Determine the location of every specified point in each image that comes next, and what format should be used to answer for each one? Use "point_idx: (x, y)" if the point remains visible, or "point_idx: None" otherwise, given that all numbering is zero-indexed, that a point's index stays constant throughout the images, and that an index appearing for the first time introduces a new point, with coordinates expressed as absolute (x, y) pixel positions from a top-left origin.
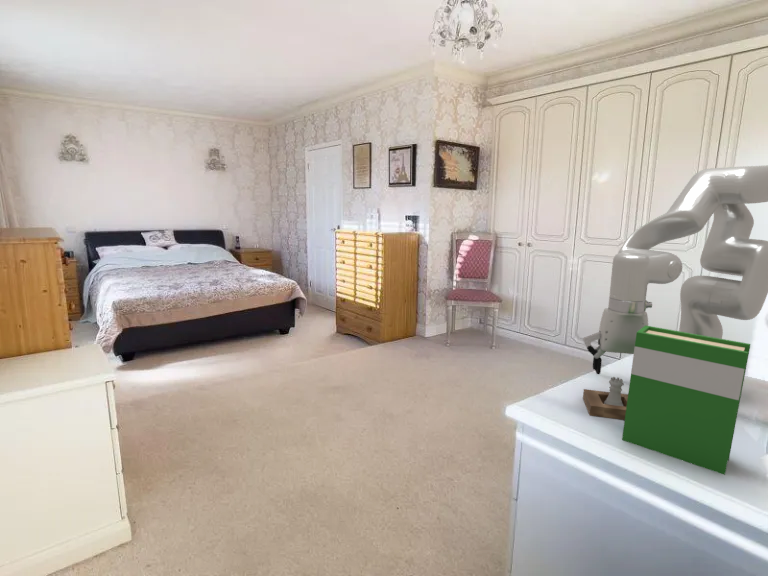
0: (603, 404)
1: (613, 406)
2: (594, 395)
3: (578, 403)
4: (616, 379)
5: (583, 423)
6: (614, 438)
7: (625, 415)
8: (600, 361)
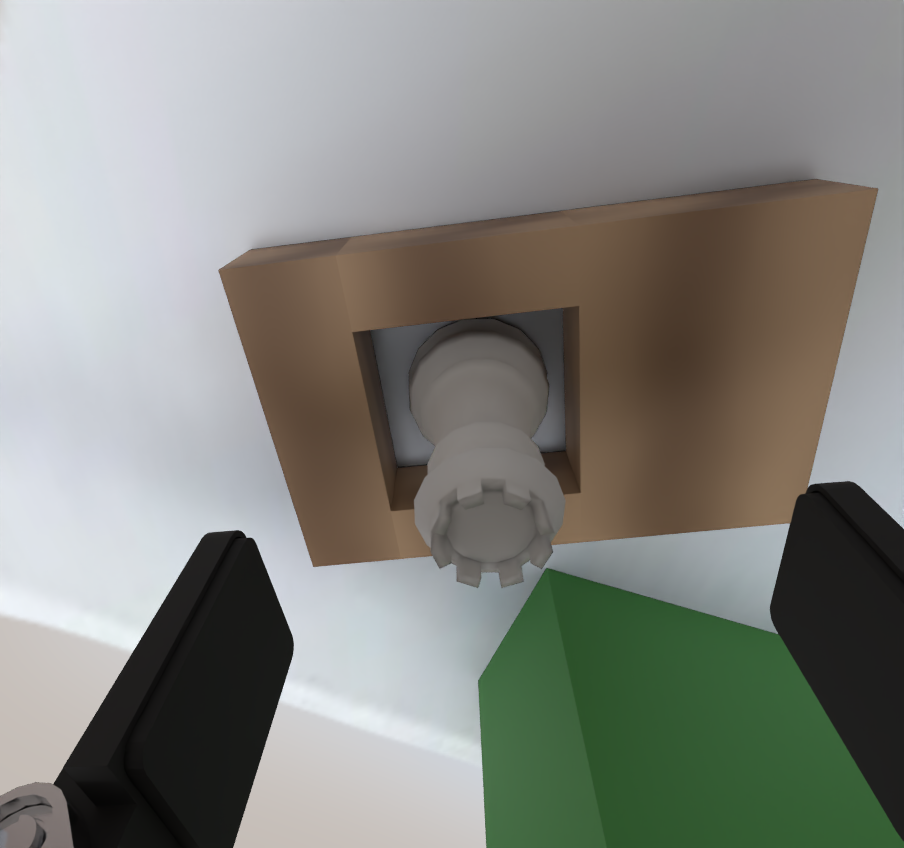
0: (395, 519)
1: None
2: (325, 386)
3: (237, 371)
4: (492, 512)
5: (305, 611)
6: (447, 680)
7: (485, 818)
8: (220, 845)
